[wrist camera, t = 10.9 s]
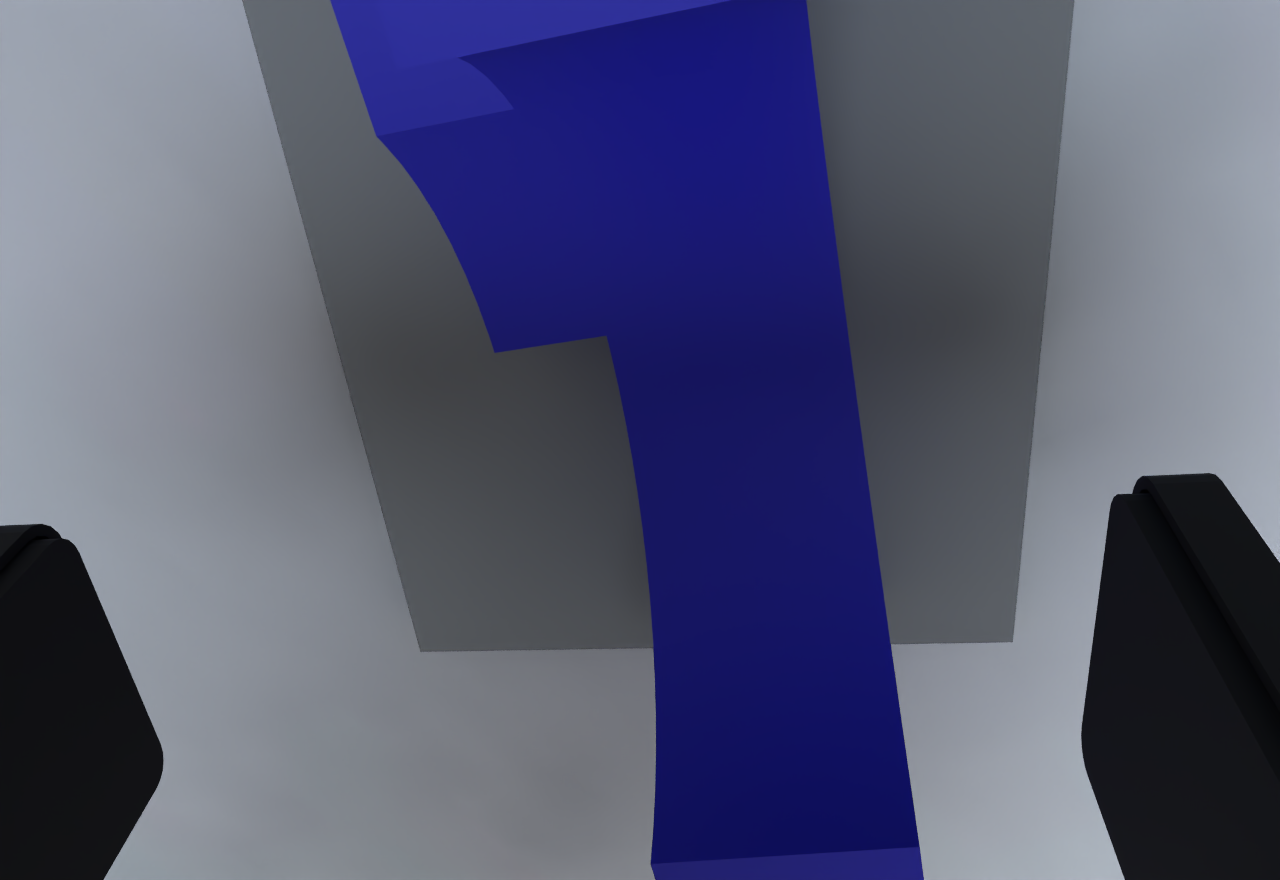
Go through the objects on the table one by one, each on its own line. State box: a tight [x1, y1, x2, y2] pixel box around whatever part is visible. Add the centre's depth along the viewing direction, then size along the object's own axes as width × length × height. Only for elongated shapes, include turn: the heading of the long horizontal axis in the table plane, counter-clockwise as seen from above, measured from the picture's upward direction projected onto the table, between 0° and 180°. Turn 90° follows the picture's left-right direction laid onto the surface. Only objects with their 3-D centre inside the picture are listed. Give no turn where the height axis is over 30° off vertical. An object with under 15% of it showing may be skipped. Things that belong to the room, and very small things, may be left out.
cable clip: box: [330, 0, 924, 880], centre depth 13 cm, size 12×4×6 cm, turn 12°
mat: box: [242, 0, 1074, 652], centre depth 15 cm, size 14×10×1 cm
